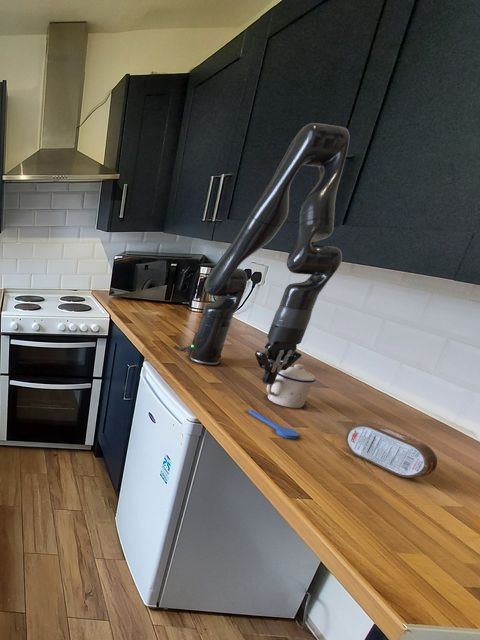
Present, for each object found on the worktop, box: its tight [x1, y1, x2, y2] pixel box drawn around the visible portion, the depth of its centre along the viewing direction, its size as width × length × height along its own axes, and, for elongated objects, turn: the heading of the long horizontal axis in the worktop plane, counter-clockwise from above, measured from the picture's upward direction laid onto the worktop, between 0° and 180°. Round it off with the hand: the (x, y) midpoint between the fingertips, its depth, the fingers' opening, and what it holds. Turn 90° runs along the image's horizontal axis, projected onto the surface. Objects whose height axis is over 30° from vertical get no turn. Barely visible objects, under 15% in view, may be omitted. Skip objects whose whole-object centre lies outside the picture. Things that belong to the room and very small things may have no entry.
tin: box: [345, 421, 438, 479], centre depth 87 cm, size 15×3×8 cm, turn 17°
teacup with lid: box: [266, 363, 317, 409], centre depth 115 cm, size 12×9×12 cm
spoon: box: [247, 409, 299, 440], centre depth 104 cm, size 14×4×1 cm, turn 9°
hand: (267, 383), depth 114 cm, fingers closed
